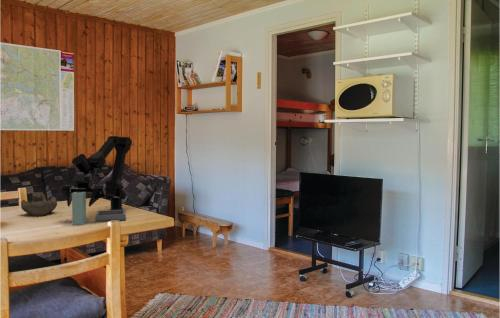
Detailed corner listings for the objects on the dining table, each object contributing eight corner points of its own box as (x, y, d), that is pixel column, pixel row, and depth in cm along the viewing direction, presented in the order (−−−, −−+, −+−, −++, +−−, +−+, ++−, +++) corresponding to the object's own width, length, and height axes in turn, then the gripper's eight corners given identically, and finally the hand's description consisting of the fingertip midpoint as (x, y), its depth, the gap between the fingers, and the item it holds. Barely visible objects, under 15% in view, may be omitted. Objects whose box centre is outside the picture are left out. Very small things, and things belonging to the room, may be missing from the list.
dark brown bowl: (19, 206, 199) (20, 190, 211) (22, 226, 204) (23, 209, 216) (56, 202, 205) (56, 187, 218) (58, 221, 210) (57, 205, 222)
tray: (97, 216, 204) (97, 210, 204) (125, 215, 208) (125, 209, 208) (95, 222, 192) (95, 215, 191) (125, 220, 195) (125, 214, 195)
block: (76, 222, 191) (75, 191, 190) (86, 222, 191) (85, 191, 190) (72, 224, 186) (71, 192, 185) (82, 224, 186) (82, 192, 185)
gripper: (61, 167, 192) (51, 195, 181) (103, 167, 192) (95, 195, 182) (69, 182, 200) (59, 210, 190) (109, 182, 200) (101, 210, 190)
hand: (78, 206), depth 188 cm, fingers open, 9 cm apart
